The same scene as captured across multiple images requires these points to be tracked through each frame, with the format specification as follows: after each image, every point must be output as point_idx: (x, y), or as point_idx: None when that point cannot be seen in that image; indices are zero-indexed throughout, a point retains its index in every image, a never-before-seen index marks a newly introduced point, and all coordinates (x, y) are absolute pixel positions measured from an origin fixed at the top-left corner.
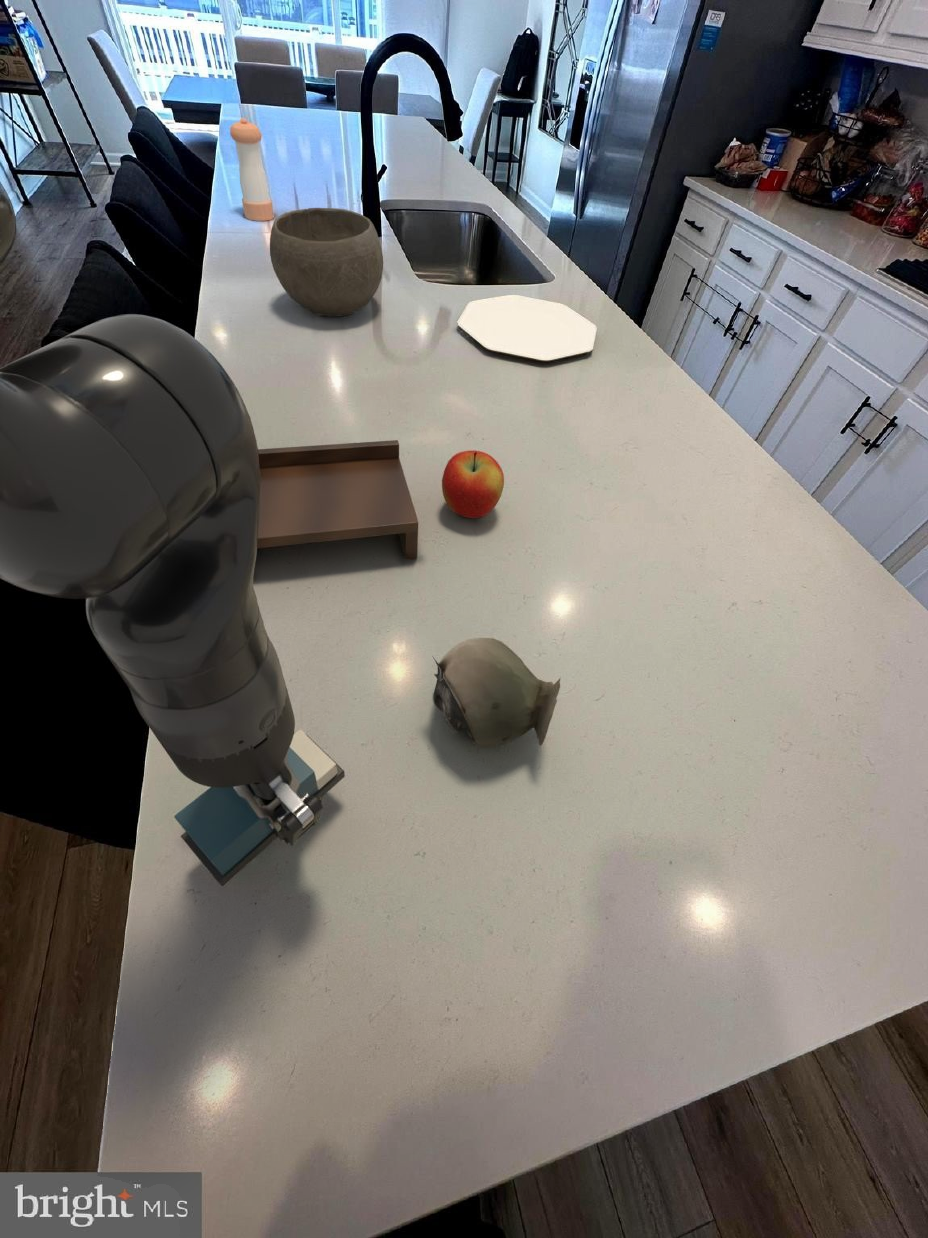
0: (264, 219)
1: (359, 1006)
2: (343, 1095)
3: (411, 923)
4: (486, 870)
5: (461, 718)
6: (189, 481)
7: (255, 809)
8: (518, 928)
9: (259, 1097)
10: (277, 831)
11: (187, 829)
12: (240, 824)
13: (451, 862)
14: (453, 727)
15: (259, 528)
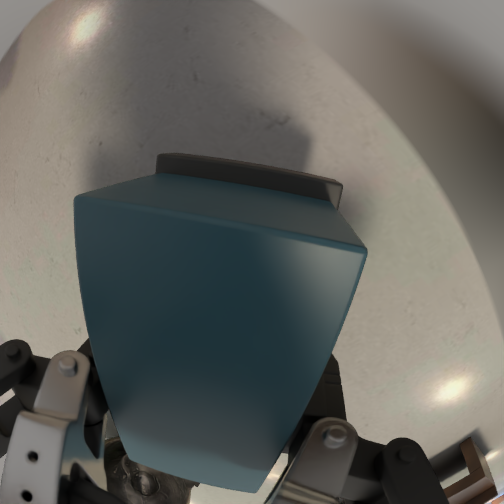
0: (495, 500)
1: (24, 173)
2: (8, 116)
3: (38, 266)
4: (41, 337)
5: (108, 481)
6: None
7: (9, 450)
8: (7, 305)
9: (51, 54)
10: (59, 353)
11: (254, 237)
12: (113, 345)
13: (58, 333)
14: (121, 465)
15: (454, 497)
